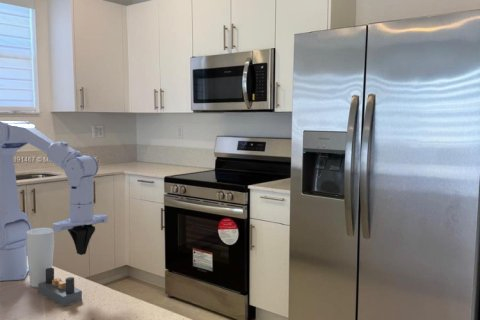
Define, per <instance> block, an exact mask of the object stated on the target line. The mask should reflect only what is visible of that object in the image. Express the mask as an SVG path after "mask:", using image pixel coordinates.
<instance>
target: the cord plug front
mask: <svg viewBox="0 0 480 320" xmlns="http://www.w3.org/2000/svg"><path fill="white" fill-rule="evenodd" d="M65 281H66V294H72V293H74V287H75V277H73V276H69V277H66V278H65Z"/></svg>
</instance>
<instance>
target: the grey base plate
mask: <svg viewBox="0 0 480 320" xmlns="http://www.w3.org/2000/svg"><path fill="white" fill-rule="evenodd" d="M55 279H57V278H55ZM61 282H63V280H61ZM37 289H38V290H37V293H38V294H39V295H41V296H43V297H45V298H47V299H49V300H50V301H53V302H54V303H56V304H57V305H59V306H61V307H66V306H70V305H73V304H75V303H77V302H80V301H82V300H83V298H82V296H83V291H82V289H80V288H77V287H75V286H74V293H72V294H66V287H65V288H62V289H60V288H58V285H55V286H54V285H52V283H50V284H47V283H46V282H42V283H39V284H38V288H37Z"/></svg>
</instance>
